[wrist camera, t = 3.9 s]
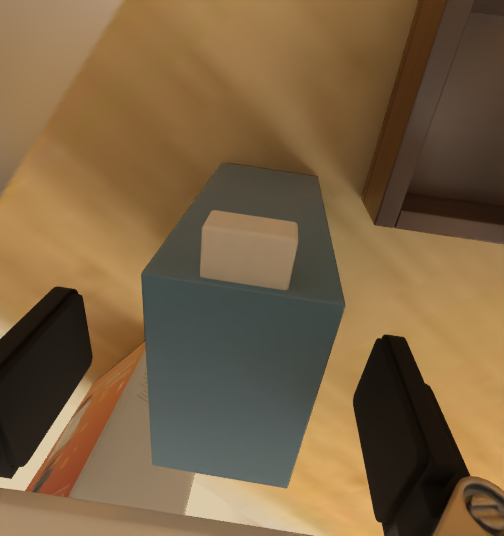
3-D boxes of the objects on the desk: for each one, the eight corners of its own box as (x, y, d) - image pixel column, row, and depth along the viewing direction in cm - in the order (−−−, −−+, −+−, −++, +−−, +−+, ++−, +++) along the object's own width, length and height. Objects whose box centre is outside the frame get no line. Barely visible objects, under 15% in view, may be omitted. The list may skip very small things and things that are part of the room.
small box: (155, 328, 22) (58, 515, 13) (220, 378, 23) (174, 574, 14) (90, 383, 25) (-25, 562, 16) (150, 423, 27) (77, 606, 18)
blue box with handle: (323, 148, 15) (362, 254, 7) (282, 338, 21) (276, 525, 13) (223, 134, 15) (136, 220, 7) (210, 326, 21) (153, 504, 13)
